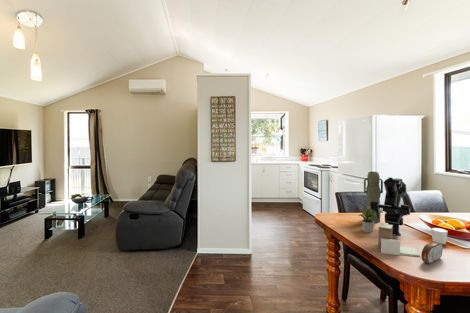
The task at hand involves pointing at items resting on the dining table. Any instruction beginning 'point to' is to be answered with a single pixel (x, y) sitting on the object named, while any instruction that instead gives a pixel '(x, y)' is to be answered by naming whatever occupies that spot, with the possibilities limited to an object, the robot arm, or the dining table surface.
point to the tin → (432, 252)
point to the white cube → (439, 235)
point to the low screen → (390, 246)
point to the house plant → (367, 219)
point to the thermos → (373, 191)
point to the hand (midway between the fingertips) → (387, 220)
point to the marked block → (385, 232)
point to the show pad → (408, 251)
